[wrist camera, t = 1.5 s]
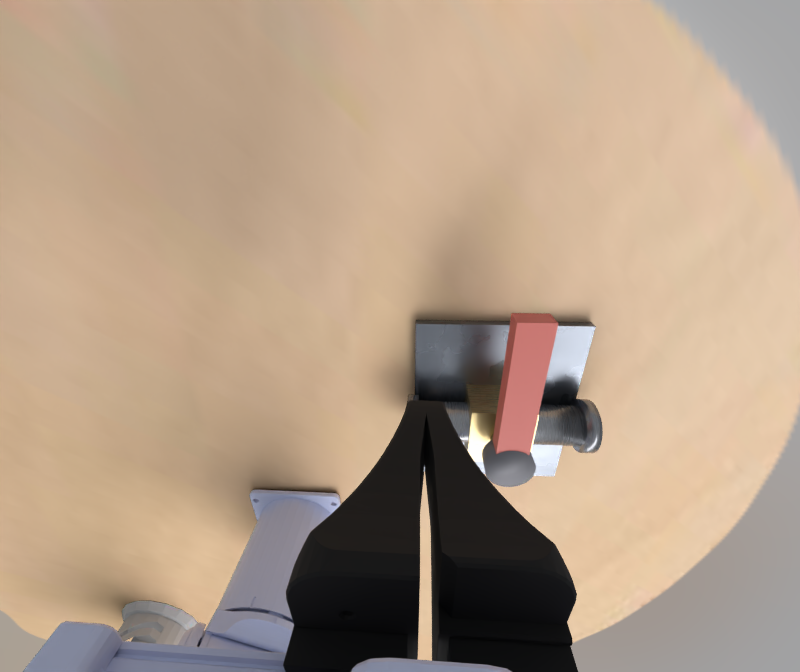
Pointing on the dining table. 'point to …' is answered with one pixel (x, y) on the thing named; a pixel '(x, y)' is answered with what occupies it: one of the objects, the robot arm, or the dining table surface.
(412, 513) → the robot arm
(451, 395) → the valve assembly
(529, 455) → the valve lever
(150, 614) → the french press
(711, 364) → the dining table surface
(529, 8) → the dining table surface
